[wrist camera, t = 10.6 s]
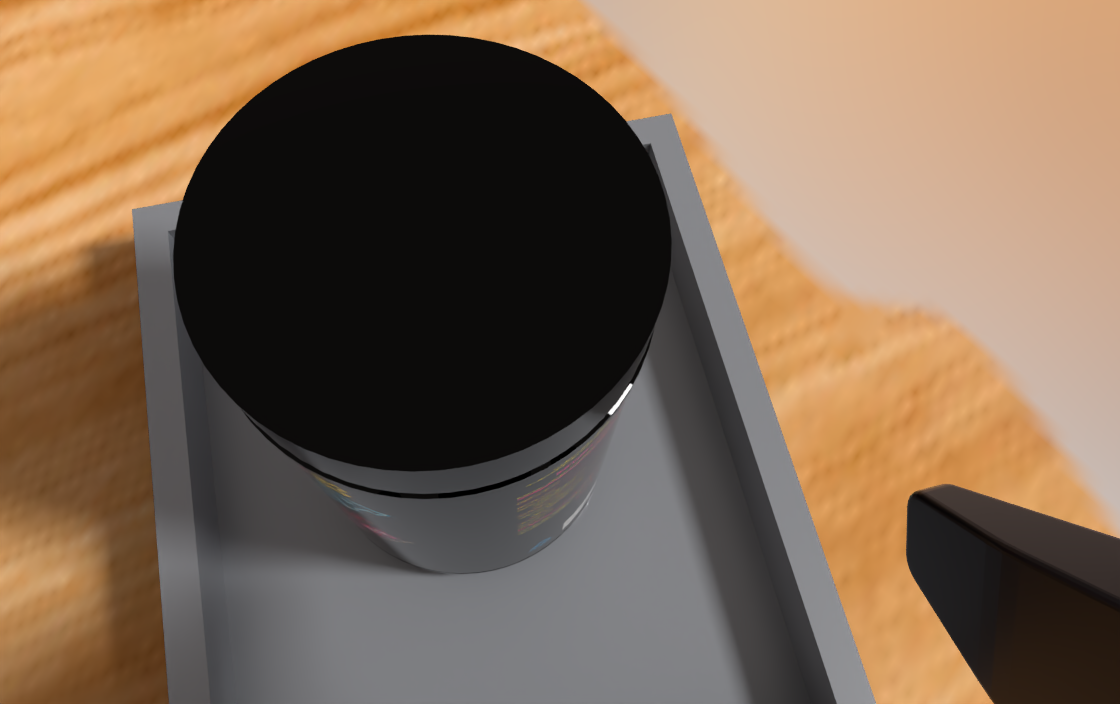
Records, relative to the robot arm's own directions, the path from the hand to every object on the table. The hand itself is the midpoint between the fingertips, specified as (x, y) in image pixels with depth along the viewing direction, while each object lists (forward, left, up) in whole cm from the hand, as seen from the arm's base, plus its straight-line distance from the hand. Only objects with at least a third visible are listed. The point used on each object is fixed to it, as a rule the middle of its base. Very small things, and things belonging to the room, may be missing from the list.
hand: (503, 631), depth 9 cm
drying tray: (+5, 0, -12) cm, 13 cm away
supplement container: (+5, 0, -12) cm, 13 cm away
